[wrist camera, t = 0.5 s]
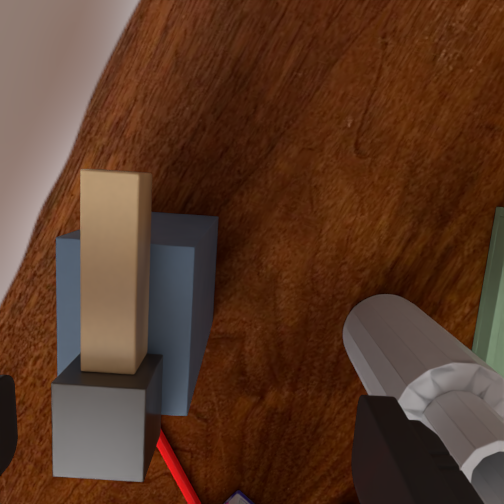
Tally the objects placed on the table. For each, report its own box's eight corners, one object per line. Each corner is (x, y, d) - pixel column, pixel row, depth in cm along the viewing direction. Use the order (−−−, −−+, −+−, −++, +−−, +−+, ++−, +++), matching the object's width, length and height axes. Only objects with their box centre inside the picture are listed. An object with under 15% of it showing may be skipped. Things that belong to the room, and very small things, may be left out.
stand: (135, 210, 31) (55, 237, 19) (218, 216, 31) (195, 246, 19) (133, 316, 33) (57, 408, 20) (212, 321, 33) (187, 416, 20)
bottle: (347, 291, 32) (436, 403, 17) (429, 296, 32) (595, 413, 17) (338, 368, 34) (413, 541, 18) (418, 373, 34) (563, 551, 18)
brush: (83, 168, 18) (47, 167, 15) (169, 174, 18) (152, 174, 15) (83, 429, 20) (52, 477, 17) (160, 434, 20) (143, 482, 17)
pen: (224, 564, 37) (223, 576, 36) (121, 373, 34) (116, 380, 33) (234, 560, 37) (233, 572, 36) (131, 369, 34) (127, 375, 33)
